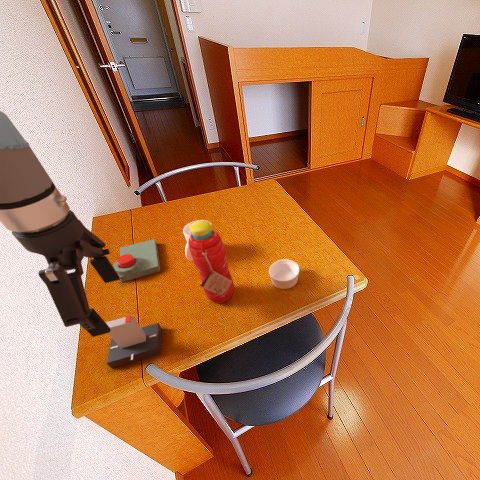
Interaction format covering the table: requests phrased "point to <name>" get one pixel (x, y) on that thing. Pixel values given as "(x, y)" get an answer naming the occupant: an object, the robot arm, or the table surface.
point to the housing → (139, 260)
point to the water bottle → (211, 261)
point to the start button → (126, 261)
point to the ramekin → (284, 273)
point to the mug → (187, 235)
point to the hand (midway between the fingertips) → (107, 304)
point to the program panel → (136, 348)
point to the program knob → (126, 331)
